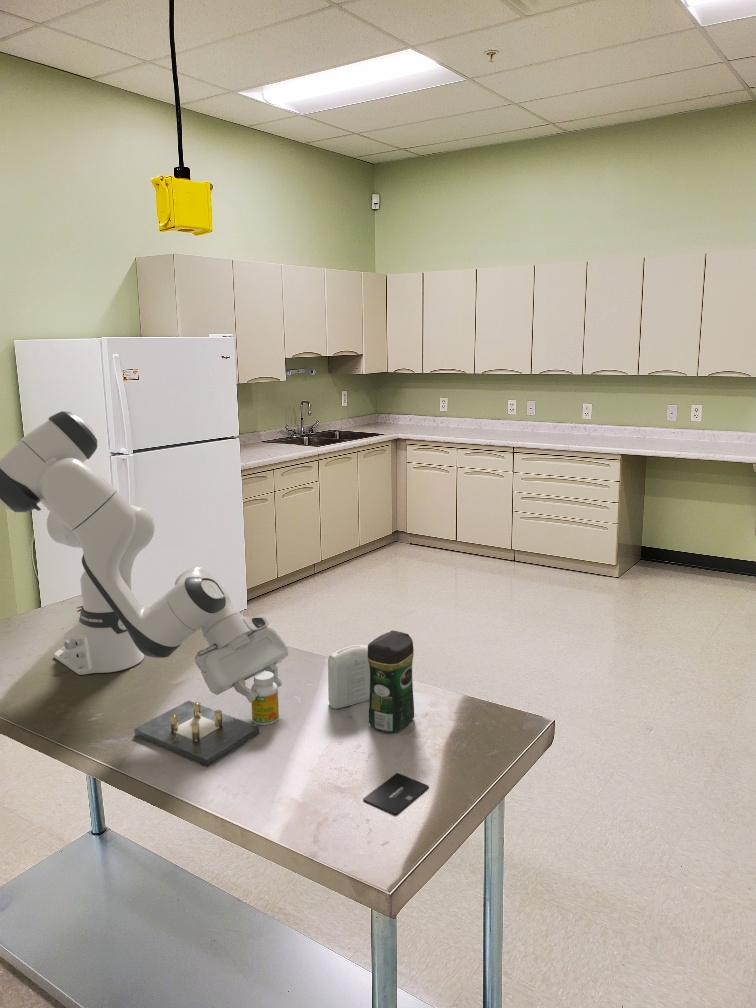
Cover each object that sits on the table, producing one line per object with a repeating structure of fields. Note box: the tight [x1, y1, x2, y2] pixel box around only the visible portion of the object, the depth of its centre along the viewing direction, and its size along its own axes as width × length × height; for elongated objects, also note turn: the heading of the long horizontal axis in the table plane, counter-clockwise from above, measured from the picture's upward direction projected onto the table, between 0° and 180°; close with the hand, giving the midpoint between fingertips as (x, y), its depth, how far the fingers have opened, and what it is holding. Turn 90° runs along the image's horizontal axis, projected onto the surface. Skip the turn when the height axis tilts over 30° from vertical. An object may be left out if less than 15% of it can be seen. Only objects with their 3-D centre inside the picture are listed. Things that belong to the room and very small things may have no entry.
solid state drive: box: [362, 772, 430, 816], centre depth 131 cm, size 7×10×1 cm
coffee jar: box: [367, 630, 415, 734], centre depth 153 cm, size 10×8×19 cm
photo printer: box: [327, 644, 370, 709], centre depth 163 cm, size 10×4×12 cm, turn 123°
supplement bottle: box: [250, 671, 280, 726], centre depth 155 cm, size 5×5×10 cm
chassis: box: [133, 700, 261, 768], centre depth 150 cm, size 20×14×4 cm
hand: (266, 693), depth 155 cm, fingers closed on supplement bottle, 5 cm apart
